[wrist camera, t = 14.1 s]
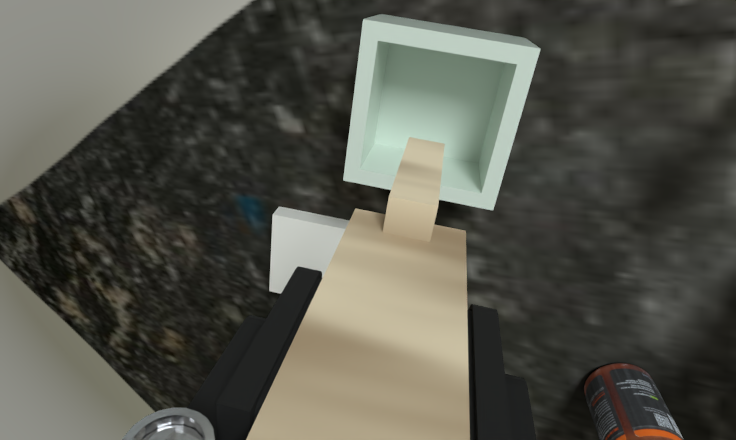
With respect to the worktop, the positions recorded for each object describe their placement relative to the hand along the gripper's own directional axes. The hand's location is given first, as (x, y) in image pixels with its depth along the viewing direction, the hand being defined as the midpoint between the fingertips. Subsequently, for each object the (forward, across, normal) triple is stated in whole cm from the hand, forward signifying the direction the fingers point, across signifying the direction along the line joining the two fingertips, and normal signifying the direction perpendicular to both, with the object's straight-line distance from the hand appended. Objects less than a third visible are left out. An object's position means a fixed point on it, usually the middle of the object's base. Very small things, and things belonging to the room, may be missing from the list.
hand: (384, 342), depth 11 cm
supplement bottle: (+27, -22, +23) cm, 42 cm away
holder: (+27, 0, 0) cm, 27 cm away
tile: (+27, +2, +16) cm, 31 cm away
